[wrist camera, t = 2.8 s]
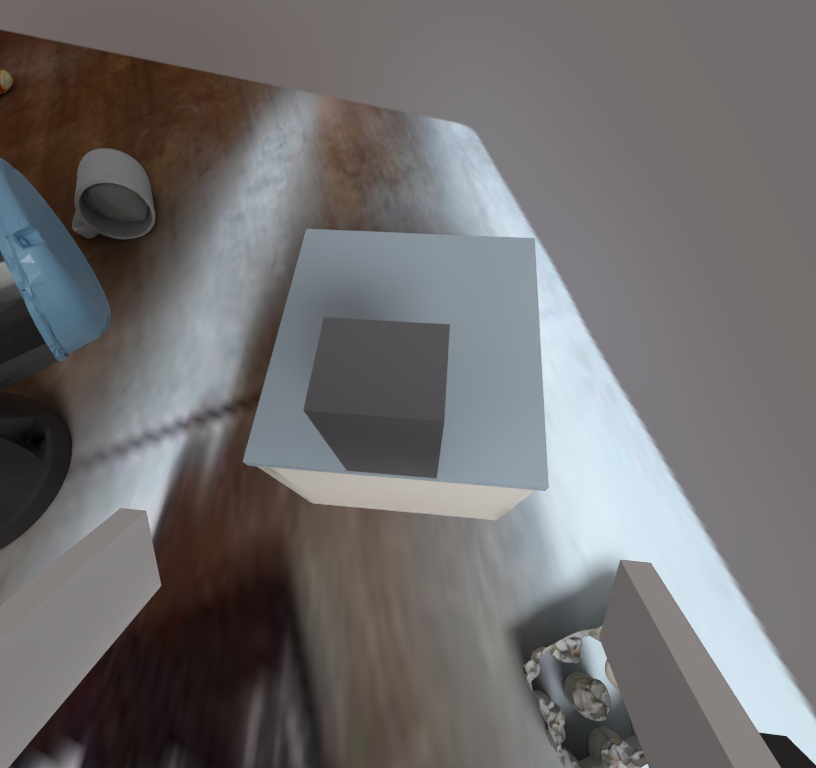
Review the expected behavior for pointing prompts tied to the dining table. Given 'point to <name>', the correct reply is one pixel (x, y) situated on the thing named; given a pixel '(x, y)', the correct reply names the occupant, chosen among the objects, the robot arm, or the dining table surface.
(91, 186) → the ceramic mug
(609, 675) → the grey piece
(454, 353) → the lid
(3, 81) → the croissant
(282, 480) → the storage box
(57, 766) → the dining table surface
